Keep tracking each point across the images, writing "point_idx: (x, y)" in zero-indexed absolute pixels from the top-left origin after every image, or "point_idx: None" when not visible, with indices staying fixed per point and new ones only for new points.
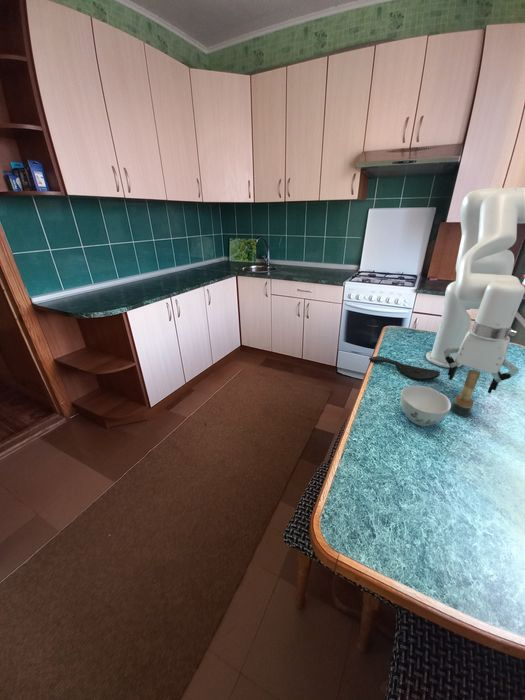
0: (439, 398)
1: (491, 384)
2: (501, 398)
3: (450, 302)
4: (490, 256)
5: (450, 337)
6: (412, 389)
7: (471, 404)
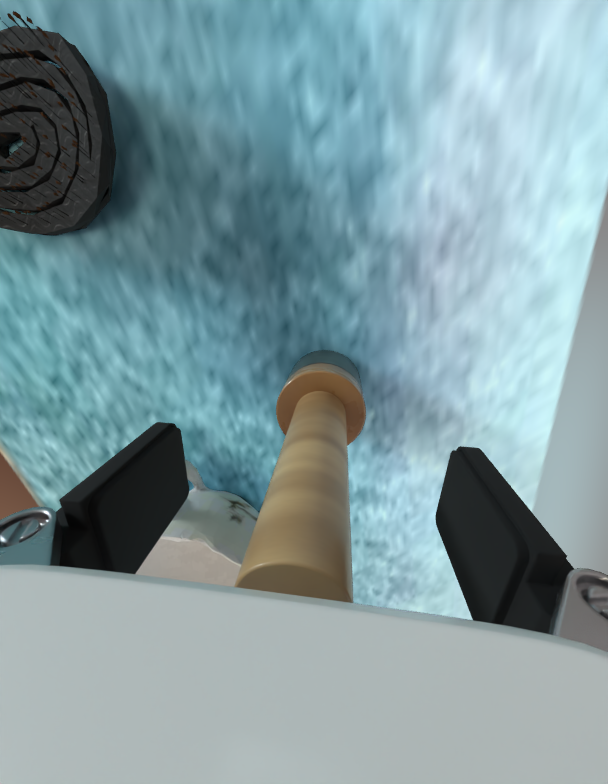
0: (223, 530)
1: (472, 597)
2: (524, 43)
3: None
4: None
5: None
6: None
7: (358, 433)
